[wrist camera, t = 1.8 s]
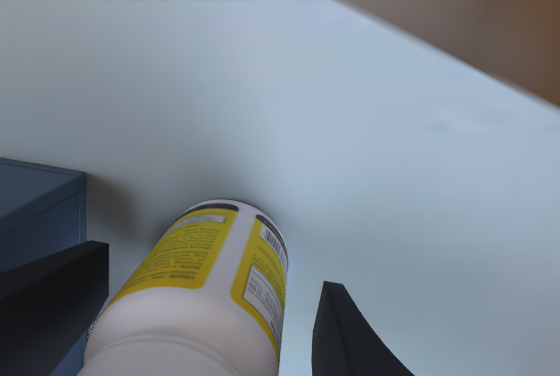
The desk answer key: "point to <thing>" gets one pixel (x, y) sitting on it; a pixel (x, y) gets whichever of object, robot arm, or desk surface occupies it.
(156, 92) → the desk surface
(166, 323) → the supplement bottle
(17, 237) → the desk bin
